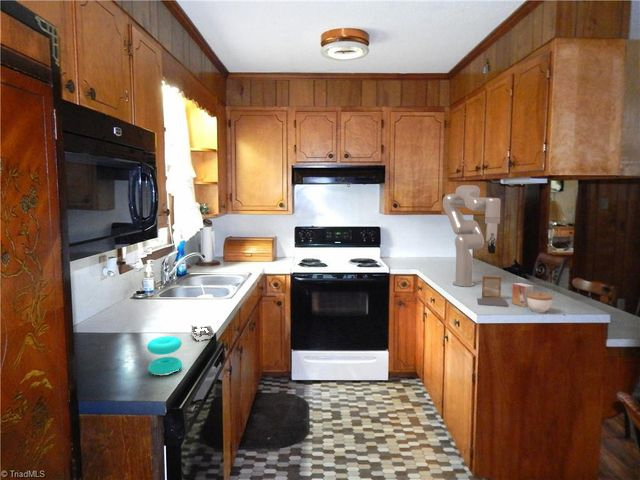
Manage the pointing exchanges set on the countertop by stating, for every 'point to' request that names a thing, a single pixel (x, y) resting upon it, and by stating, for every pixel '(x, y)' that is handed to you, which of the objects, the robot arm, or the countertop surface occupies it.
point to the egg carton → (203, 331)
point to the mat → (492, 302)
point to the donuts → (163, 347)
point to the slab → (491, 287)
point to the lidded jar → (539, 302)
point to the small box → (521, 294)
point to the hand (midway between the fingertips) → (491, 252)
